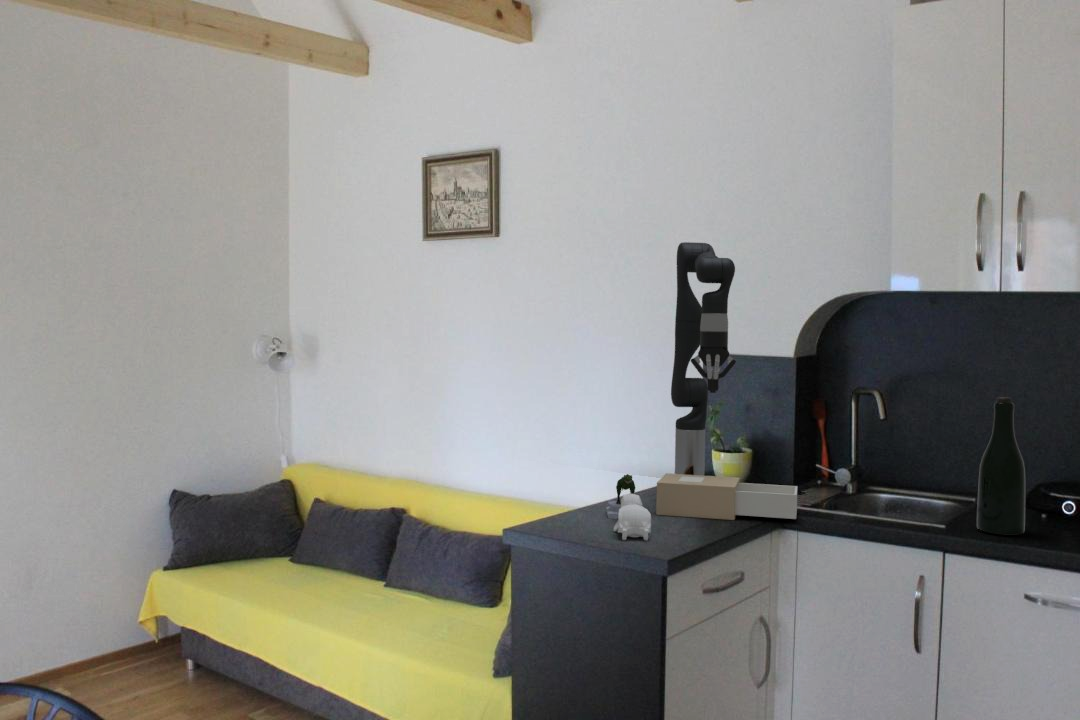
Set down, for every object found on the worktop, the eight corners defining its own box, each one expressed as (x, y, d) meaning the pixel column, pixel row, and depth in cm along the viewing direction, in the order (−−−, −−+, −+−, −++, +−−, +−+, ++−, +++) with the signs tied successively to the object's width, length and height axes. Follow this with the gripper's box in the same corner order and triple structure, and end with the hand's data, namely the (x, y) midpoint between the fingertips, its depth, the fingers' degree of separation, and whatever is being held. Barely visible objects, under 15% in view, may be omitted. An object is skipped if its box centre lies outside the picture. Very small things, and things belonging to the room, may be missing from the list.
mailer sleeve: (665, 503, 254) (666, 473, 254) (739, 508, 249) (739, 477, 248) (656, 514, 239) (656, 482, 239) (734, 520, 233) (735, 486, 233)
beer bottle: (987, 525, 230) (991, 394, 229) (1031, 533, 223) (1036, 397, 221) (968, 531, 224) (972, 396, 223) (1013, 539, 216) (1017, 399, 215)
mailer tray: (723, 504, 249) (724, 481, 248) (796, 509, 243) (797, 486, 243) (718, 513, 236) (719, 490, 235) (796, 519, 230) (796, 495, 230)
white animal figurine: (652, 552, 211) (646, 516, 225) (655, 521, 208) (648, 486, 221) (615, 551, 211) (611, 515, 225) (617, 520, 208) (613, 486, 222)
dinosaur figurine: (609, 522, 229) (610, 475, 229) (604, 506, 249) (605, 463, 249) (646, 522, 229) (647, 476, 229) (638, 507, 249) (639, 464, 249)
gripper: (739, 330, 255) (738, 392, 255) (691, 329, 258) (690, 391, 259) (737, 330, 248) (736, 394, 248) (688, 329, 251) (687, 392, 252)
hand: (712, 392), depth 254 cm, fingers closed
